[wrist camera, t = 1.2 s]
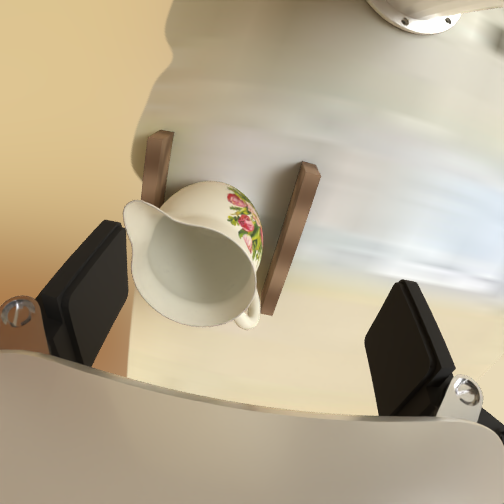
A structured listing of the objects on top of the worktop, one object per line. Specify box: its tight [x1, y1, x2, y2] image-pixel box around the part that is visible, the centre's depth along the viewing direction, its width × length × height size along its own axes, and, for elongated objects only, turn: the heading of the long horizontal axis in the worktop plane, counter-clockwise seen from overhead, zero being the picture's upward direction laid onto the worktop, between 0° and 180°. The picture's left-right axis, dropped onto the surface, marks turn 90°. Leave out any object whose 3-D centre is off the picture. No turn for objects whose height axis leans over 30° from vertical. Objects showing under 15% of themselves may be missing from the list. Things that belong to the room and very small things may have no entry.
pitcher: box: [123, 181, 263, 330], centre depth 32 cm, size 11×18×14 cm, turn 30°
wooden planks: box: [141, 130, 321, 316], centre depth 36 cm, size 18×17×4 cm
